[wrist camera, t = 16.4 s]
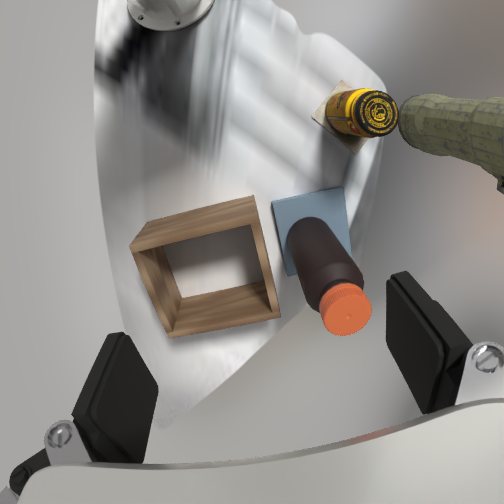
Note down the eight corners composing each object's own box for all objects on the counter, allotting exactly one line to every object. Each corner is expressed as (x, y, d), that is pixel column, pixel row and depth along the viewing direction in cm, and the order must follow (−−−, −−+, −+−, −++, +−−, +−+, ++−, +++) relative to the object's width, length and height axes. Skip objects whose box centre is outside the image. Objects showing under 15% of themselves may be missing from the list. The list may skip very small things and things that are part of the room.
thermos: (444, 91, 39) (638, 119, 7) (439, 161, 44) (620, 251, 12) (398, 79, 39) (608, 82, 7) (393, 155, 44) (589, 251, 12)
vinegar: (299, 208, 46) (338, 275, 27) (338, 226, 47) (393, 299, 29) (278, 248, 48) (301, 332, 30) (317, 264, 49) (356, 350, 31)
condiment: (341, 79, 39) (374, 70, 28) (384, 118, 41) (426, 123, 30) (311, 116, 41) (335, 118, 30) (355, 154, 44) (390, 169, 33)
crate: (147, 222, 47) (129, 246, 38) (253, 195, 46) (256, 214, 37) (178, 304, 53) (169, 338, 45) (274, 284, 52) (280, 317, 44)
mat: (271, 201, 46) (272, 203, 45) (341, 186, 45) (343, 188, 45) (286, 273, 51) (287, 276, 50) (350, 258, 50) (351, 261, 49)
